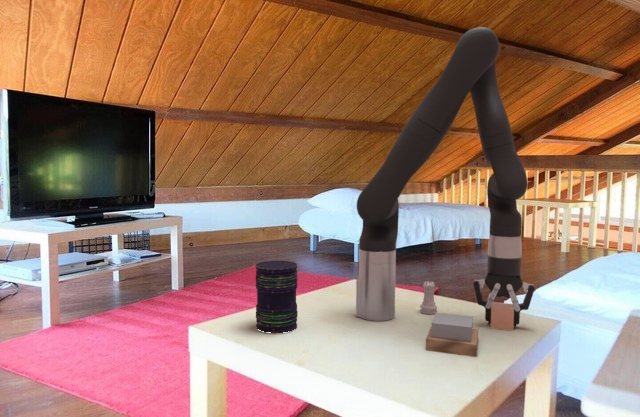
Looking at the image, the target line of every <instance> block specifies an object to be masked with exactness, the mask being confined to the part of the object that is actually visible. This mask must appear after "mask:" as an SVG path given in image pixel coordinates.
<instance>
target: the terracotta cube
mask: <svg viewBox="0 0 640 417" xmlns="http://www.w3.org/2000/svg"><path fill="white" fill-rule="evenodd" d="M513 325H514V306H513V303H507V302H506V303H505V302H498V301H497V302H495V301H493V303H492V305H491V324H490V329H494V330H504V329H505V331H512V330H513V331H514V327H513Z"/></svg>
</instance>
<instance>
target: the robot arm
mask: <svg viewBox="0 0 640 417" xmlns="http://www.w3.org/2000/svg"><path fill="white" fill-rule="evenodd" d="M455 46H456V47H455V49H454V50H453V53H452V55H451V57H450V59H449V60H448V62H447V64H446V66H445V68H444V70H443V71H442V73H441V74H440V76H439V78H438V79H437V81H436V82H435V83H434V85H433V86H432V87H431V88H430V89H429V91H428V92H427V94H426V95H425V96H424V98H423V99H422V100H421V102H420V103H419V104H418V105H417V107H416V109H414V111H413V112H412V114H411V116H410V118H409V119H408V120H407V122H406V124H405V126H404V127H402V128H403V129H402V130H401V132H400V134H399V136H398V137H397V139H396V140H395V142H394V144H393V146H392V147H391V150H390V151H389V153H388V155H387V157H386V158H385V160H384V162H383V164H382V165H381V166H380V168H379V169H378V170H377V172H376V174H374V176H373V177H372V178H371V179H370V181H369V182H368V184H367V185H366V186H365V187H364V188H363V189H362V191H361V192H360V193H359V195H358V198H357V201H356V210H357V214H358V216H359V217H360V218H361V220H362V229H361V233H360V237H359V240H358V241H359V244H358V254H359V255H358V278H357V279H356V280H355V281H356V283H355V284H356V285H355V286H356V288H355V289H356V290H355V291H356V293H355V295H356V296H355V297H356V298H355V300H356V302H355V303H356V304H355V305H356V306H355V316H356V318H357V317H359V318H361V319H364V320H368V321H377V322H378V321H379V322H382V321H383V322H384V321H389V320H392V319H394V318H395V316H396V267H397V265H396V264H397V263H396V262H397V260H396V255H397V240H398V235H399V234H398V233H399V216H400V215H399V210H400V209H399V208H400V206H399V197H400V196H401V194H402V192H403V190H404V189H405V187H406V186H407V185H408V184H407V183H408V182H409V181H410V180H411V178H413V176H415V174H416V173H417V172H418V171H419V170H420V169H421V167H423V165H424V164H425V163H426V162H427V161H428V160H429V159H430V158H431V156H432V155H433V154H434V153H435V151H436V150H437V149H438V147H440V145H441V143H442V141H443V139H444V138H445V136H446V135H447V134H448V132H449V130H450V128H451V127H452V125H453V123H454V121H455V120H456V117H457V116H458V113H459V112H460V110H461V107H462V105H463V102H464V101H465V99H466V97H467V96H468V94H469V93H470V96H471V97H470V98H471V100H472V104H473V109H474V110H473V111H474V114H475V120H476V125H477V131H478V134H479V135H478V136H479V140H480V143H481V149H482V153H483V156H484V159H485V160H486V161H487V162H488V163H489V164H490V166H491V169H492V174H491V175H490V176H489V178H488V181H487V185H486V188H487V189H486V191H487V192H486V193H487V194H486V195H487V203H488V209H489V215H490V216H489V217H490V218H489V238H488V242H487V267H486V268H487V269H486V276H485V278H483V279H482V278H481V279H478V278H475V279H474V280H473V288H474V292H475V297H476V301H477V304H478V305H479V306H482V307H484V309H485V312H484V313H485V314H484V320H485V322H487V324H488V325H491V305H492V303H493V302H495V299H496V297H498V298H501V297H504V298H506V299H507V298H509V299H511V304H513V306H514V325H513V328H514V327H515V328H516V327H517V325H519V324H520V319H521V318H520V314H521V311H524V310H525V311H528V310H529V308H530V306H531V305H530V304H531V301H532V300H533V299H532V298H533V295H534V293H535V289H536V288H535V285H534V283H532V282H531V283H528V282H525V281H524V282H523V280H522V258H523V256H522V255H523V243H522V241H523V240H522V225H523V223H522V222H523V220H522V214H521V213H520V212H519V211H518V208H517V200H520V199H521V198H523V196H524V195H525V194H526V192H527V189H528V178H527V174H526V171H525V167H524V166H523V163H522V160H521V158H520V157H519V155H518V154H519V153H517V150H516V146H515V140H514V136H513V132H512V128H511V123H510V120H509V116H508V114H507V111H506V108H505V105H504V103H503V100H502V97H501V93H500V91H499V86H498V80H497V71H496V69H497V67H496V60H497V58H498V55H499V52H500V41H499V38H498V36H497V34H496V32H494V30H492V29H491V28H489V27H485V26H478V27H474V28H471V29H469V30H467V31H466V32H464V33H463V34H462V35H461V37H460V39H459V40H458V42H457V44H456V45H455ZM485 285H486V287H487V288H488V289H489V290H490V292H489V294H488V297H487V299H484V298H483V293H482V292H483V291H482V289H484V286H485ZM521 288H523V291H524V293H525V295H524V299H523V301H522V302H521V303H519V300H518V297H517V292H518V291H520V290H521Z"/></svg>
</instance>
